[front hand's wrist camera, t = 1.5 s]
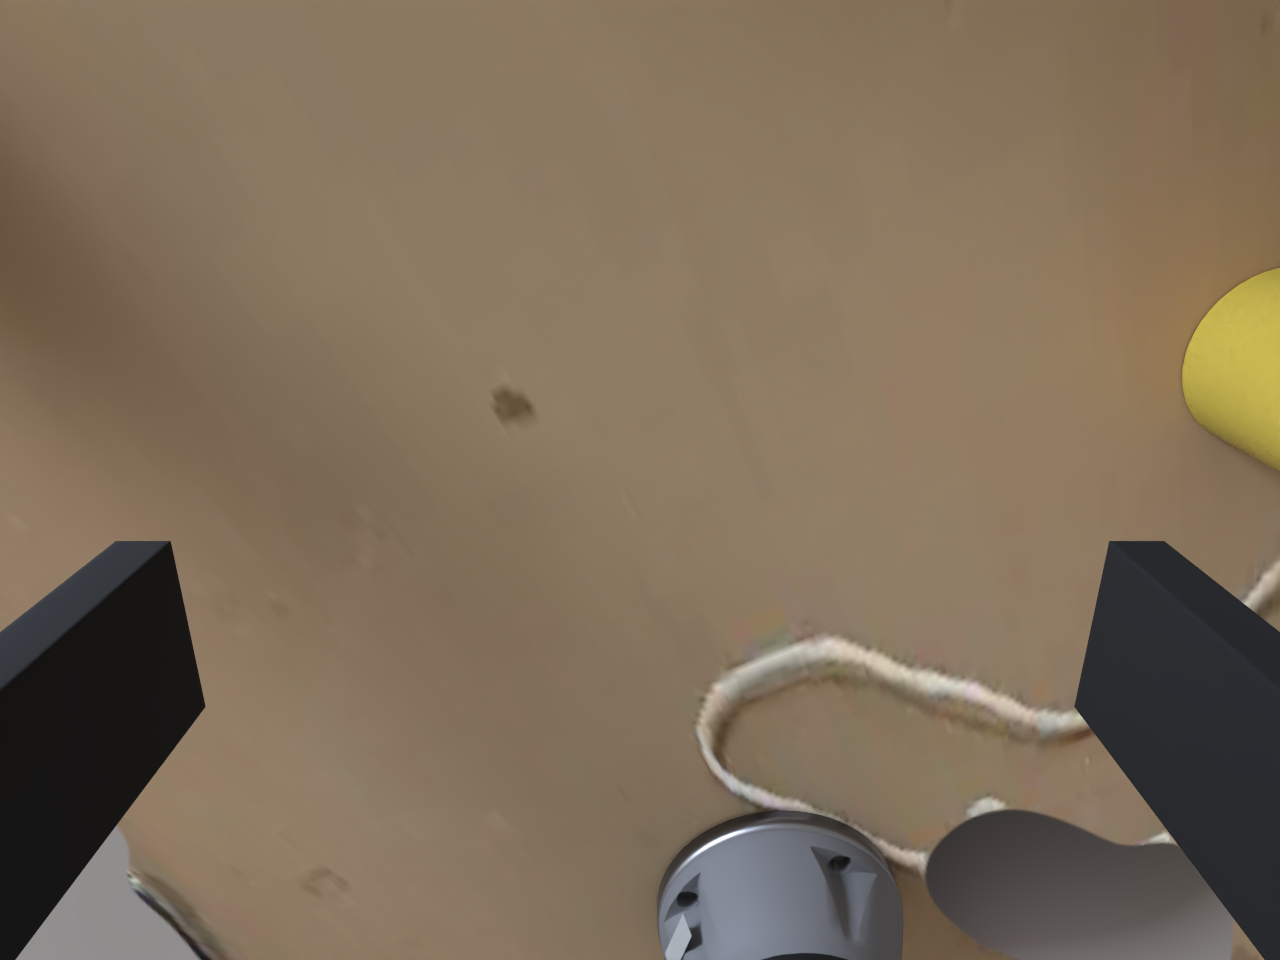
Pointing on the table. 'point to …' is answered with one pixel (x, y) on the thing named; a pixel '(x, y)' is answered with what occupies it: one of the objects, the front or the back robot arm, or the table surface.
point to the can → (1239, 369)
